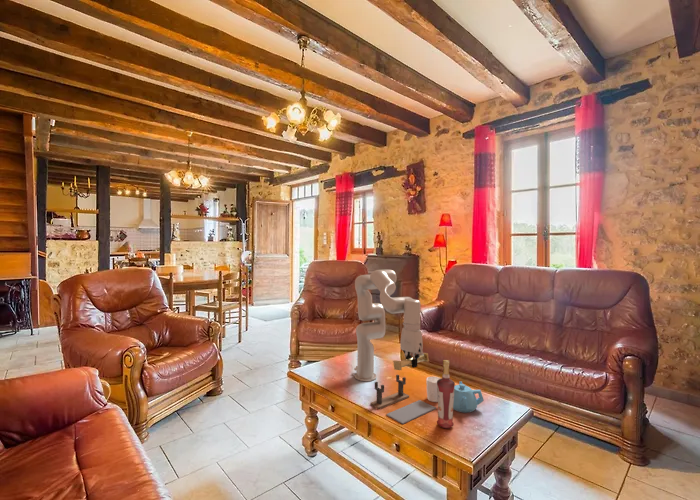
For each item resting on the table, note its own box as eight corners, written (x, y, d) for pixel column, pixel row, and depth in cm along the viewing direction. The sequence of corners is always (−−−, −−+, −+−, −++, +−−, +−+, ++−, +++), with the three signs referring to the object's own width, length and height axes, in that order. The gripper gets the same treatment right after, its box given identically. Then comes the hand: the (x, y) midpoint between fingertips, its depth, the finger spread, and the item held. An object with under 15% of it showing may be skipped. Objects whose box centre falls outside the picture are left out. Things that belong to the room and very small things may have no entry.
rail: (400, 370, 152) (399, 361, 153) (394, 369, 155) (393, 360, 156) (429, 361, 164) (427, 353, 165) (422, 360, 167) (421, 352, 168)
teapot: (463, 418, 155) (464, 394, 155) (438, 404, 168) (439, 382, 168) (485, 409, 163) (485, 387, 163) (460, 397, 176) (460, 376, 176)
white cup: (442, 403, 169) (443, 383, 169) (426, 401, 171) (426, 381, 170) (441, 396, 177) (442, 377, 176) (425, 395, 178) (426, 375, 178)
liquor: (455, 431, 144) (456, 364, 143) (437, 429, 145) (438, 363, 145) (453, 422, 151) (454, 358, 151) (435, 420, 152) (436, 357, 152)
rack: (370, 404, 167) (370, 383, 167) (400, 393, 180) (400, 373, 180) (378, 409, 162) (379, 387, 162) (409, 397, 175) (409, 376, 175)
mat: (386, 415, 157) (386, 413, 157) (419, 401, 171) (419, 399, 171) (402, 424, 149) (402, 423, 149) (436, 408, 163) (436, 407, 163)
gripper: (393, 324, 164) (393, 363, 164) (420, 331, 151) (420, 373, 151) (404, 322, 168) (404, 359, 169) (431, 328, 156) (431, 369, 156)
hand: (411, 365), depth 160 cm, fingers closed on rail, 2 cm apart
